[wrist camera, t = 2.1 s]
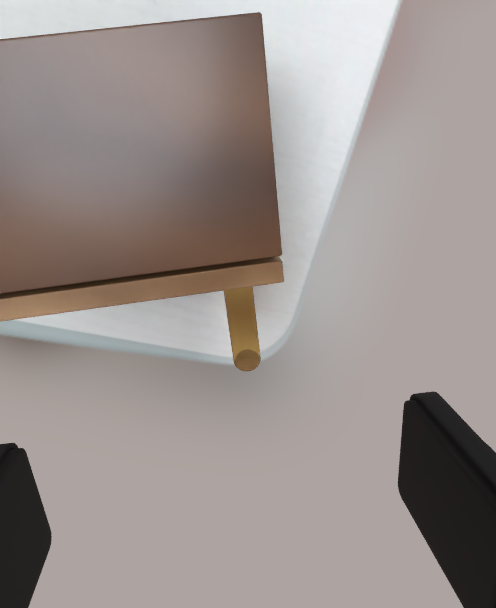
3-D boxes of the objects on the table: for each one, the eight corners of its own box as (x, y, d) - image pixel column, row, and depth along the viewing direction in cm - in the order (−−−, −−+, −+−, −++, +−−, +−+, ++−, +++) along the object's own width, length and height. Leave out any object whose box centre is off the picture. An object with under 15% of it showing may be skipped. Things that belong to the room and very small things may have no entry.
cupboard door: (264, 306, 31) (292, 382, 21) (71, 333, 30) (9, 425, 20) (255, 220, 28) (282, 260, 19) (46, 247, 28) (-37, 304, 18)
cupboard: (254, 215, 28) (282, 256, 18) (46, 242, 28) (-41, 299, 18) (238, 62, 25) (261, 11, 15) (1, 88, 24) (-136, 52, 14)
